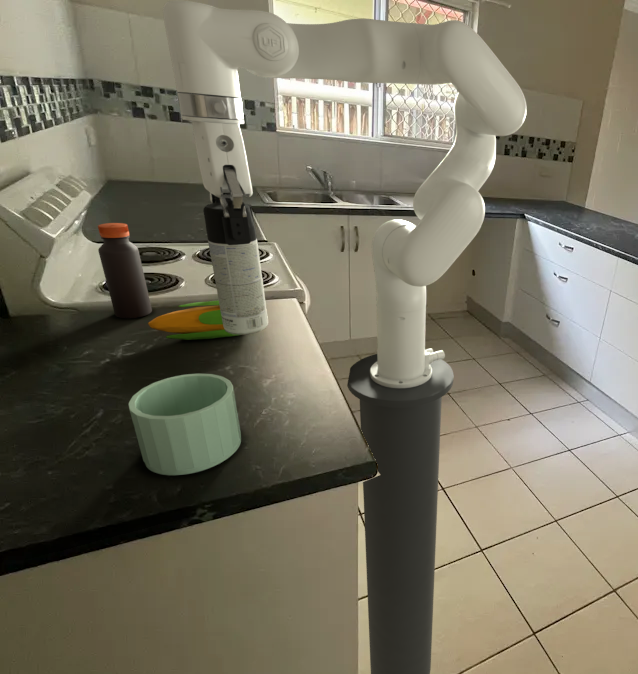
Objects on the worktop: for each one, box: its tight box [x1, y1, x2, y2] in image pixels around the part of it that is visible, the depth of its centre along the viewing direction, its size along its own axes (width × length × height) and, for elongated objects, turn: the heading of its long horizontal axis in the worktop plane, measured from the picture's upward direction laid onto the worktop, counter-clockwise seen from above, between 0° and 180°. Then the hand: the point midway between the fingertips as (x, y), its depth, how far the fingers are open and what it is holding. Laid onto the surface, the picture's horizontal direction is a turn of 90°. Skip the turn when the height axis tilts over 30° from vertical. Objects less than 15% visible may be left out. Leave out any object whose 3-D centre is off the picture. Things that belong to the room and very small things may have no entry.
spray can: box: [203, 202, 269, 336], centre depth 75 cm, size 7×7×20 cm
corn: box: [147, 300, 240, 341], centre depth 99 cm, size 7×8×20 cm
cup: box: [127, 373, 242, 476], centre depth 66 cm, size 12×12×9 cm
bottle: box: [97, 222, 153, 319], centre depth 104 cm, size 7×7×20 cm
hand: (232, 237), depth 73 cm, fingers closed on spray can, 6 cm apart
